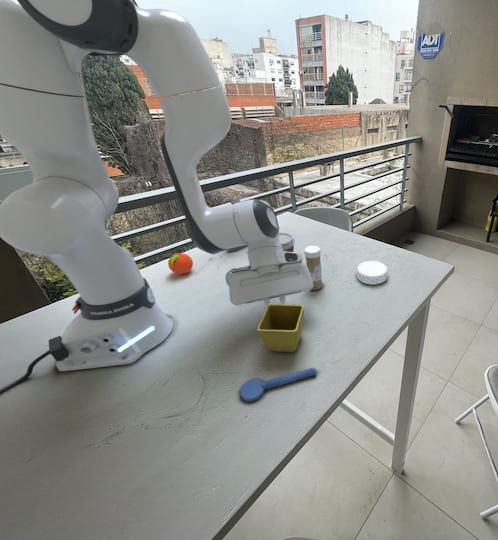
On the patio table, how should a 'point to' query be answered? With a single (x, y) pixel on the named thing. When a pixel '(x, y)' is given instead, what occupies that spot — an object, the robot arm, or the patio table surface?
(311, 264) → the sprinkles bottle
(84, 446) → the patio table surface
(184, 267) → the clementine
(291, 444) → the patio table surface
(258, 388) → the spoon
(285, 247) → the disposable coffee cup
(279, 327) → the flower pot
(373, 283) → the white round disc
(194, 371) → the patio table surface
